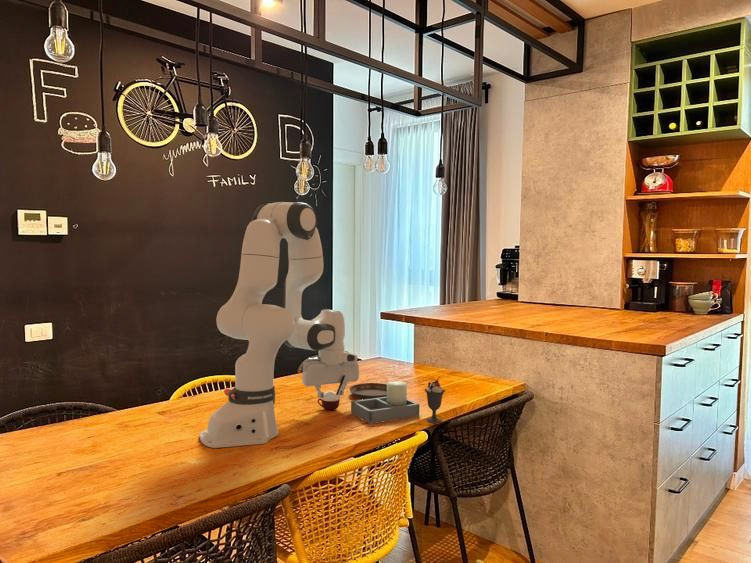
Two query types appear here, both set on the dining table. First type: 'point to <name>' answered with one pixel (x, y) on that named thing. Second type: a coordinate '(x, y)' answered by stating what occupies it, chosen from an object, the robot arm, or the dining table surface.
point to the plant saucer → (369, 390)
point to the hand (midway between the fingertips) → (330, 396)
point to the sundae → (434, 399)
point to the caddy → (386, 405)
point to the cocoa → (331, 399)
